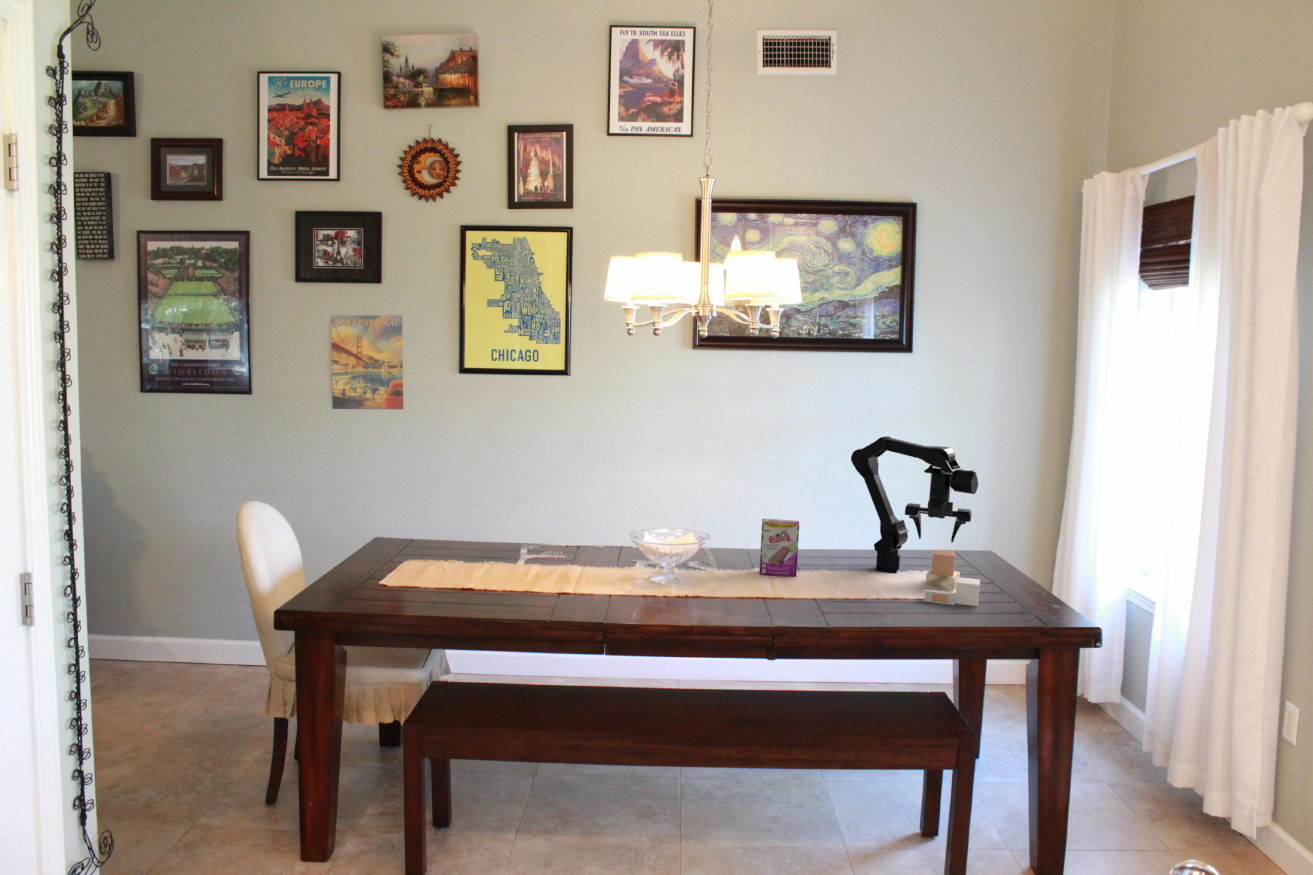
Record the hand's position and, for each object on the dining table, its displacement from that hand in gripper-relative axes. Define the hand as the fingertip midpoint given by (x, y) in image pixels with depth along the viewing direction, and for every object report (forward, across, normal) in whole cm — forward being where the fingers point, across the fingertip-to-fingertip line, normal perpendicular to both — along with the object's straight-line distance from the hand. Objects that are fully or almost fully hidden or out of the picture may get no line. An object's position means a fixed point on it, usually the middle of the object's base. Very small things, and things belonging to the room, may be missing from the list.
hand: (935, 540), depth 271 cm
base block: (+12, +3, -6) cm, 14 cm away
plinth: (+12, +4, -25) cm, 28 cm away
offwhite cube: (+12, +11, -21) cm, 26 cm away
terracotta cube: (+8, +3, -6) cm, 10 cm away
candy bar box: (+13, -44, -16) cm, 48 cm away
